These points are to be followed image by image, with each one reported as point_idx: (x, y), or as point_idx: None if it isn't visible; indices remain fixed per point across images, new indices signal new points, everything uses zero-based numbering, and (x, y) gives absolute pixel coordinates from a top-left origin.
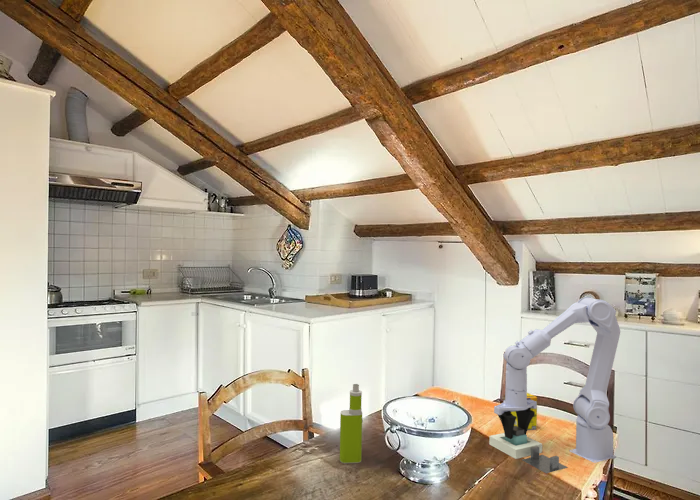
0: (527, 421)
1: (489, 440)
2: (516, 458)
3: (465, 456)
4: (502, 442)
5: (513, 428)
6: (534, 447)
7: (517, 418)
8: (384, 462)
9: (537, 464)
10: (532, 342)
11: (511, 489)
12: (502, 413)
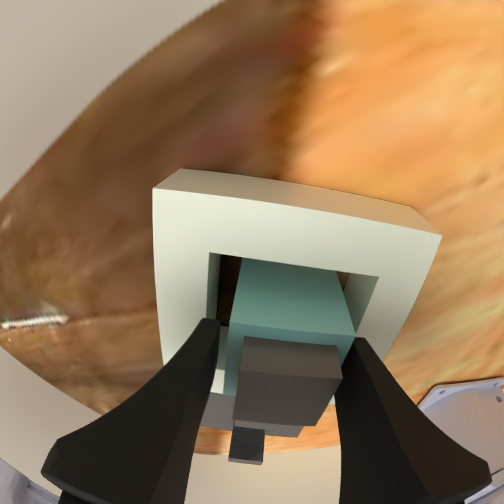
0: (342, 480)
1: (165, 180)
2: None
3: (15, 202)
4: (161, 309)
5: (260, 395)
6: (253, 425)
7: (388, 424)
8: None
9: (222, 402)
10: None
11: (65, 385)
12: (75, 497)
